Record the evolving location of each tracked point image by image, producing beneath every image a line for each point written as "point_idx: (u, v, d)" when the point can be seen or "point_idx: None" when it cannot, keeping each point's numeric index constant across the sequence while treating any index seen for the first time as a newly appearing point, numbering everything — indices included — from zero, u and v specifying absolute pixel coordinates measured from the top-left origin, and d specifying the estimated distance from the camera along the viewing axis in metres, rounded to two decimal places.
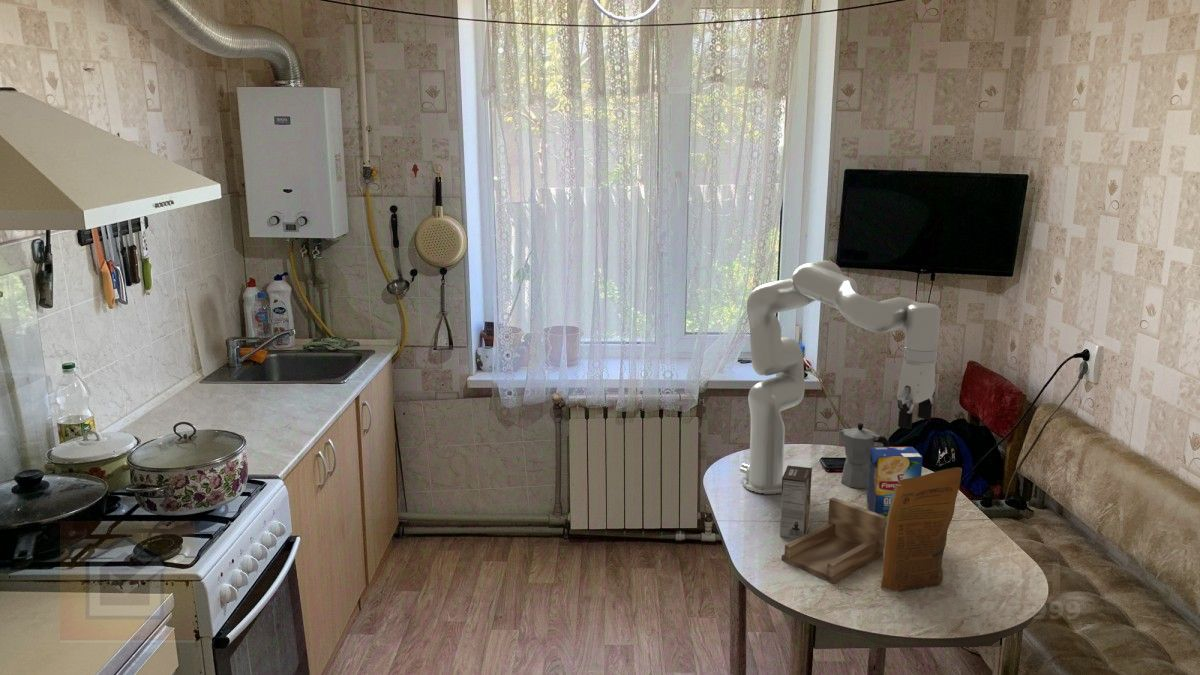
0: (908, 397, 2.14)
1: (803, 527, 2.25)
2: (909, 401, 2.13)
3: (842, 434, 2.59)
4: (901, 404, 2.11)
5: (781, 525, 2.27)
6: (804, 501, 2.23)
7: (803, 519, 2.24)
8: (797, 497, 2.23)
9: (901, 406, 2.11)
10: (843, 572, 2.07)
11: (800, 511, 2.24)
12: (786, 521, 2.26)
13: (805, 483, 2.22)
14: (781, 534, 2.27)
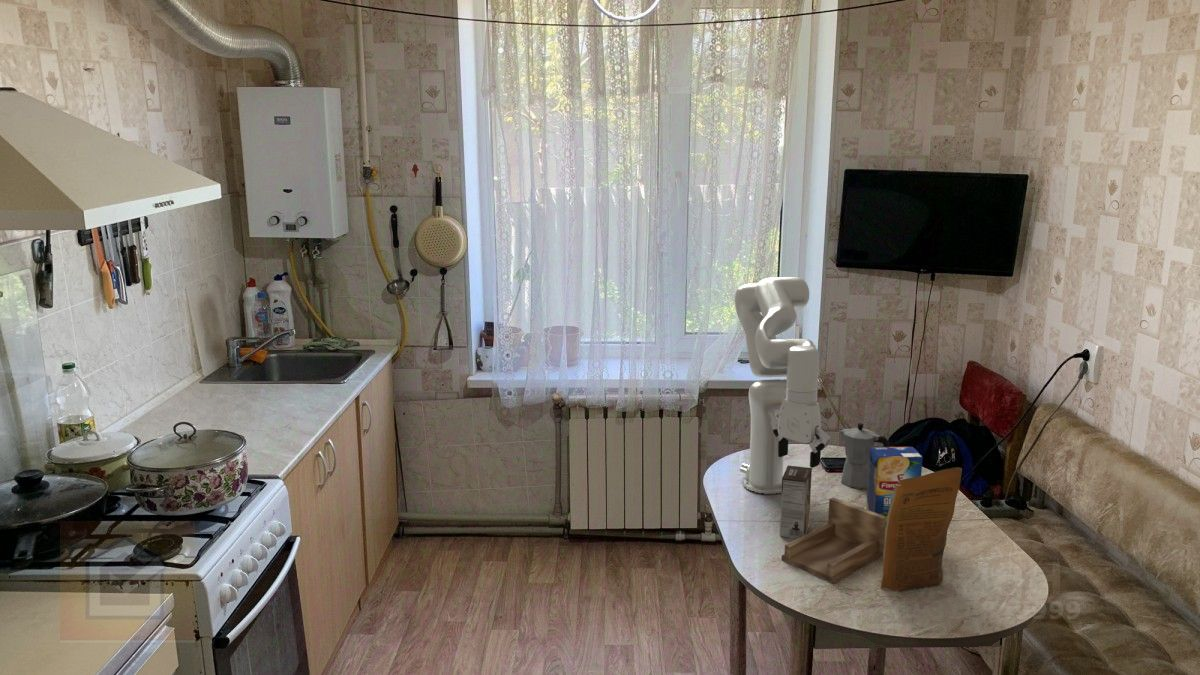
0: None
1: (803, 527, 2.25)
2: (816, 439, 2.21)
3: (842, 434, 2.59)
4: (827, 443, 2.18)
5: (781, 525, 2.27)
6: (804, 501, 2.23)
7: (803, 519, 2.24)
8: (797, 497, 2.23)
9: (826, 445, 2.18)
10: (843, 572, 2.07)
11: (800, 511, 2.24)
12: (786, 521, 2.26)
13: (805, 483, 2.22)
14: (781, 534, 2.27)
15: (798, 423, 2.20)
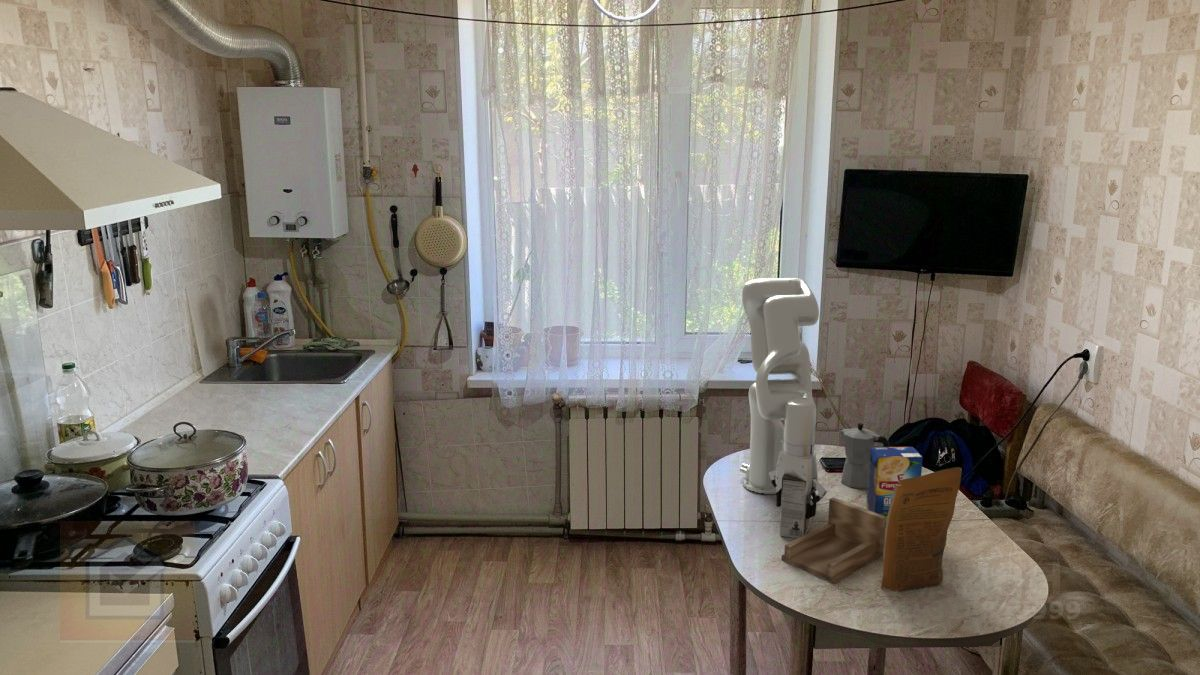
0: None
1: (803, 527, 2.25)
2: (812, 491, 2.24)
3: (842, 434, 2.59)
4: (823, 496, 2.22)
5: (781, 525, 2.27)
6: (804, 501, 2.23)
7: (803, 519, 2.24)
8: (797, 497, 2.23)
9: (821, 498, 2.22)
10: (843, 572, 2.07)
11: (800, 511, 2.24)
12: (786, 521, 2.26)
13: (805, 483, 2.22)
14: (781, 534, 2.27)
15: (795, 475, 2.23)
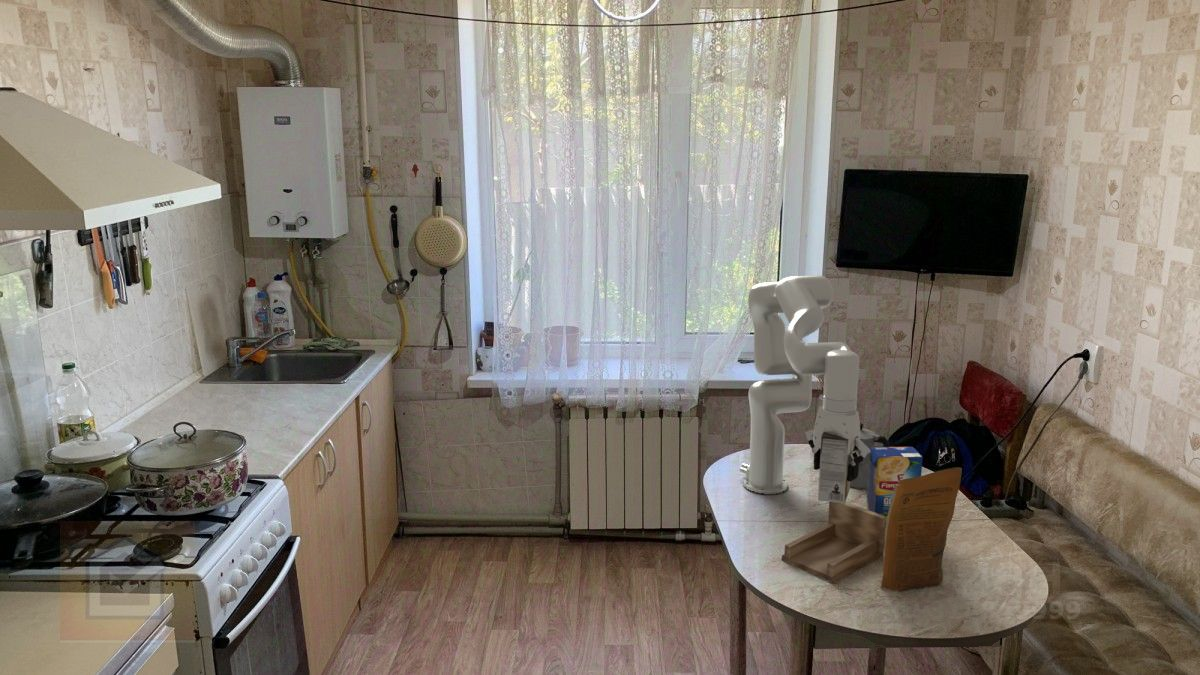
0: None
1: (844, 490, 2.06)
2: (854, 451, 2.06)
3: None
4: (866, 456, 2.03)
5: (820, 488, 2.08)
6: (845, 461, 2.04)
7: (844, 481, 2.05)
8: (838, 458, 2.05)
9: (865, 458, 2.04)
10: (843, 572, 2.07)
11: (841, 472, 2.05)
12: (825, 484, 2.07)
13: (847, 442, 2.03)
14: (820, 498, 2.09)
15: (836, 433, 2.05)
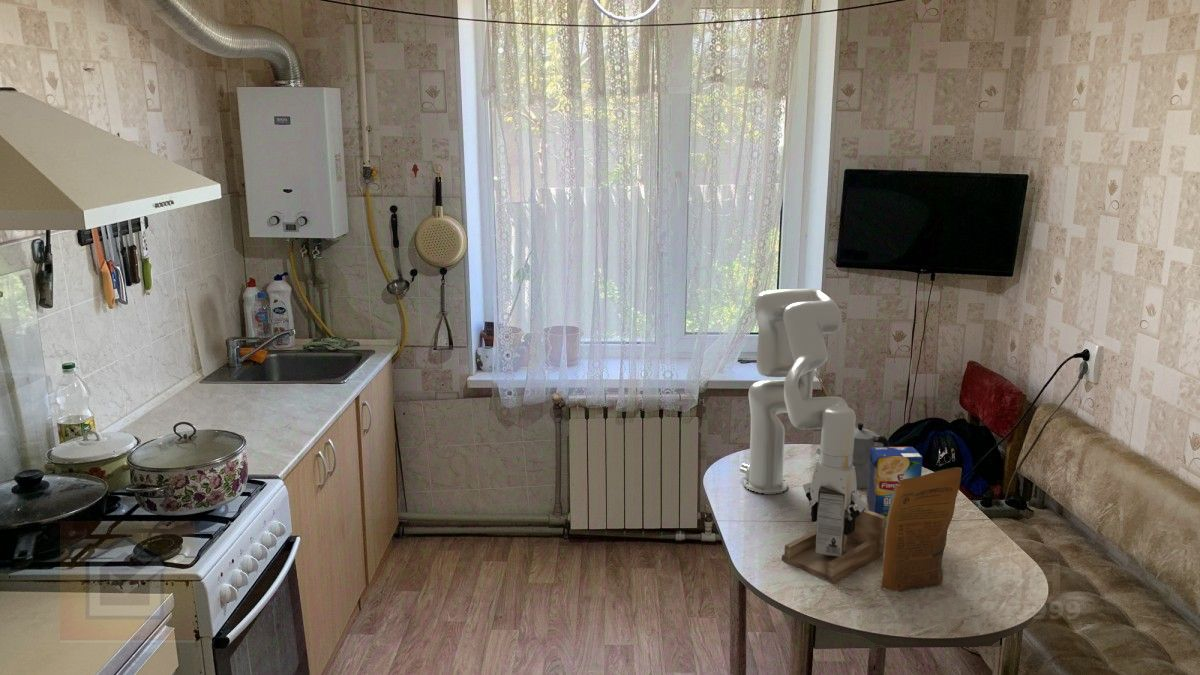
0: None
1: (841, 544, 2.09)
2: (851, 505, 2.09)
3: None
4: None
5: (817, 541, 2.11)
6: (842, 516, 2.07)
7: (841, 535, 2.09)
8: (835, 512, 2.08)
9: (861, 513, 2.07)
10: (843, 572, 2.07)
11: (838, 526, 2.08)
12: (822, 537, 2.10)
13: (843, 497, 2.06)
14: (817, 551, 2.12)
15: (832, 488, 2.08)
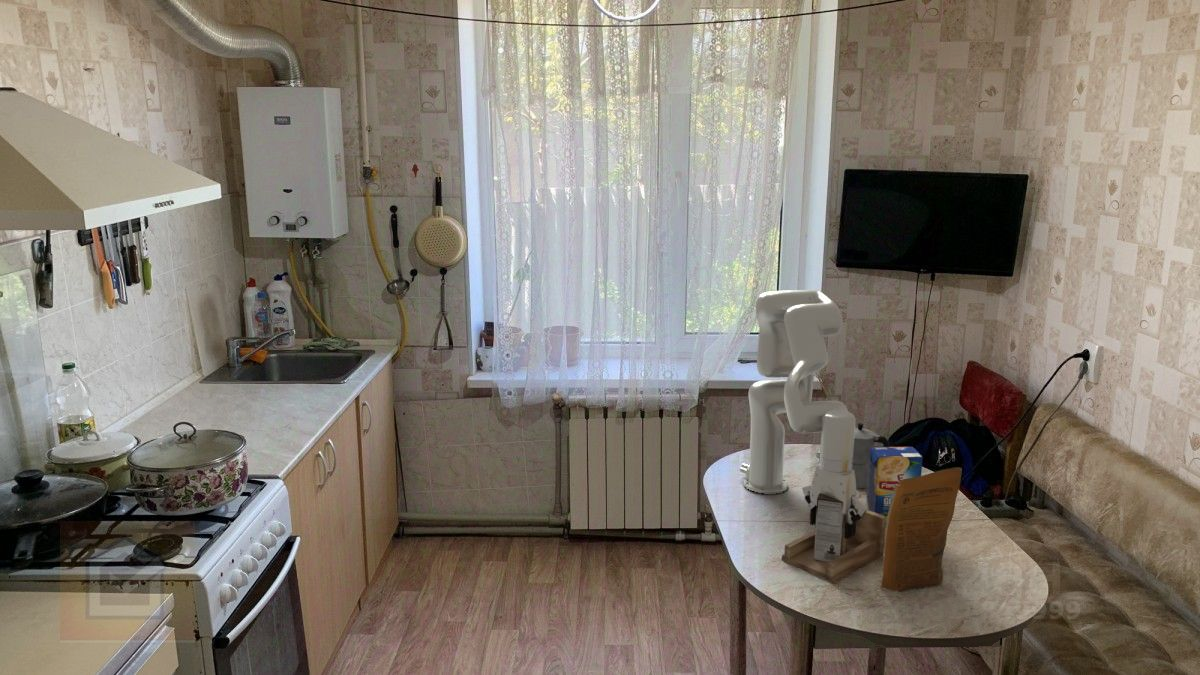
0: None
1: (839, 551, 2.10)
2: (851, 509, 2.09)
3: None
4: (863, 514, 2.06)
5: (815, 548, 2.12)
6: (840, 523, 2.08)
7: (839, 542, 2.09)
8: (833, 519, 2.08)
9: (862, 516, 2.07)
10: (843, 572, 2.07)
11: (836, 533, 2.09)
12: (820, 544, 2.11)
13: (842, 504, 2.07)
14: (815, 557, 2.13)
15: (832, 492, 2.08)
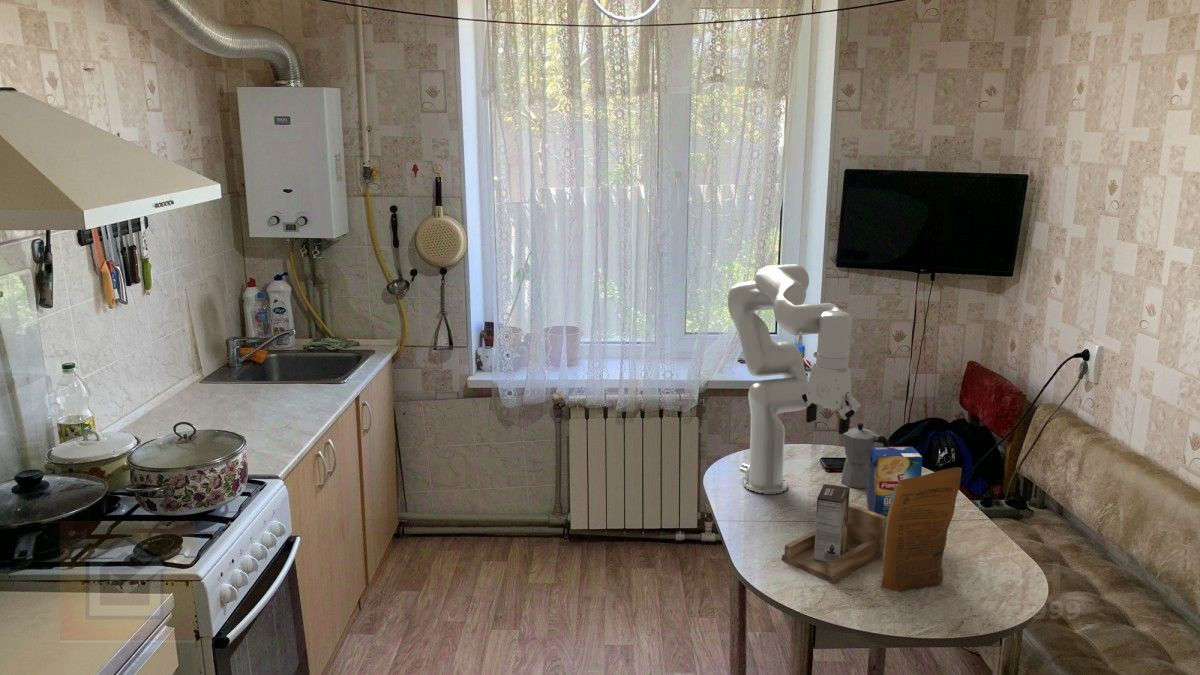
0: None
1: (839, 551, 2.10)
2: (845, 406, 2.18)
3: (842, 434, 2.59)
4: (857, 410, 2.15)
5: (816, 548, 2.12)
6: (841, 523, 2.08)
7: (839, 542, 2.09)
8: (833, 519, 2.08)
9: (855, 412, 2.16)
10: (843, 572, 2.07)
11: (836, 533, 2.09)
12: (820, 544, 2.11)
13: (842, 504, 2.07)
14: (815, 557, 2.13)
15: (828, 389, 2.17)
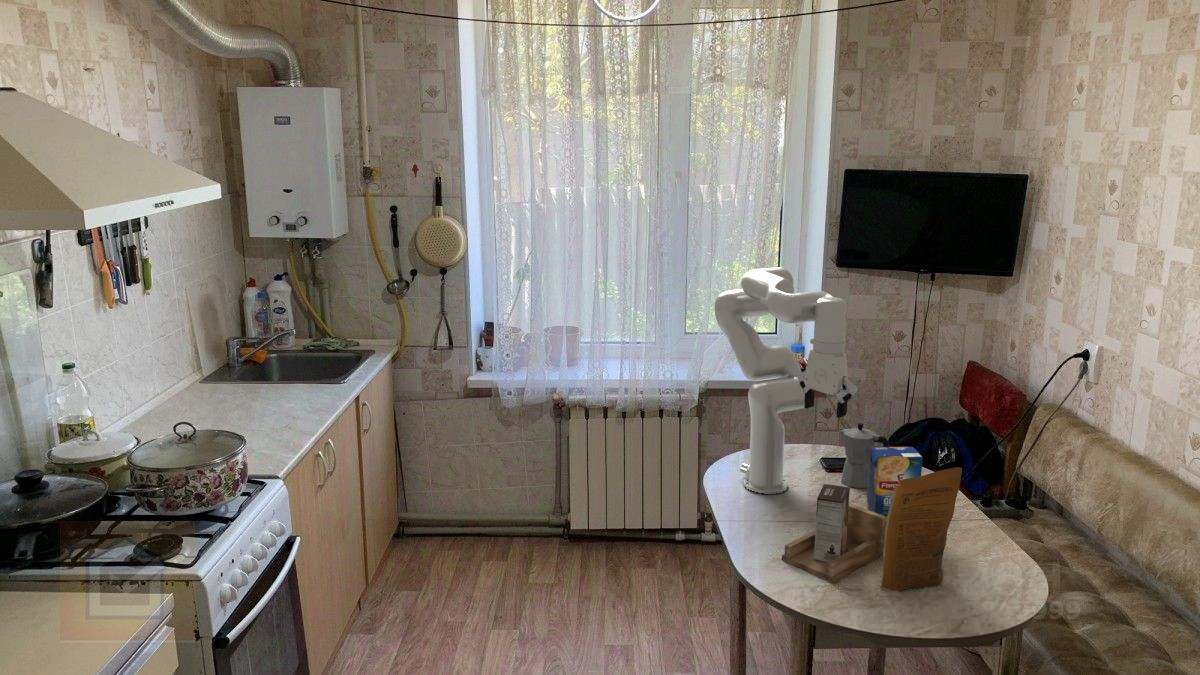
0: None
1: (839, 551, 2.10)
2: (842, 390, 2.23)
3: (842, 434, 2.59)
4: (854, 393, 2.21)
5: (816, 548, 2.12)
6: (841, 523, 2.08)
7: (839, 542, 2.09)
8: (833, 519, 2.08)
9: (853, 395, 2.21)
10: (843, 572, 2.07)
11: (836, 533, 2.09)
12: (820, 544, 2.11)
13: (842, 504, 2.07)
14: (815, 557, 2.13)
15: (825, 373, 2.23)
